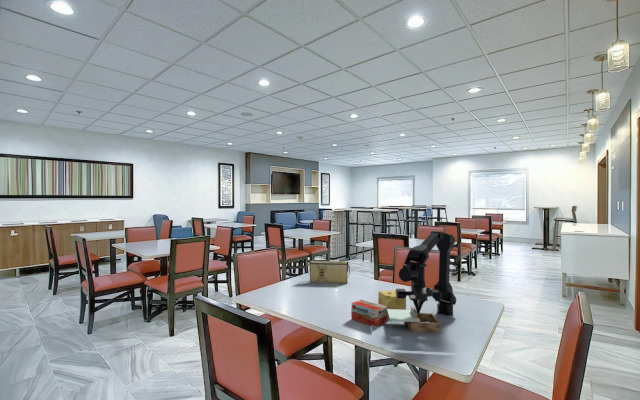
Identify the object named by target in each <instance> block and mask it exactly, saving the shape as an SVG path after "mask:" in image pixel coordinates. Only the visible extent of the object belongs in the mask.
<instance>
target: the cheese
mask: <svg viewBox="0 0 640 400" xmlns="http://www.w3.org/2000/svg"><path fill="white" fill-rule="evenodd" d="M395 291H396V289H392V290H385V291H384V290H383V291H382V290H381V291H378V297H377V299H378V300H377V301H378V303H377V304H380V305H384V306H387V309H399V310H407V297H406V298H397V297H396V293H395ZM387 315H388V313H387Z"/></svg>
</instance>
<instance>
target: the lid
mask: <svg viewBox="0 0 640 400" xmlns="http://www.w3.org/2000/svg"><path fill="white" fill-rule="evenodd" d="M387 313H388V318H389V322H406V323H407V322H419V319H418V317H417V311H416V308H415V305H414V306H413V305H411V306H410V309H406V310H399V309H387Z"/></svg>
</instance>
